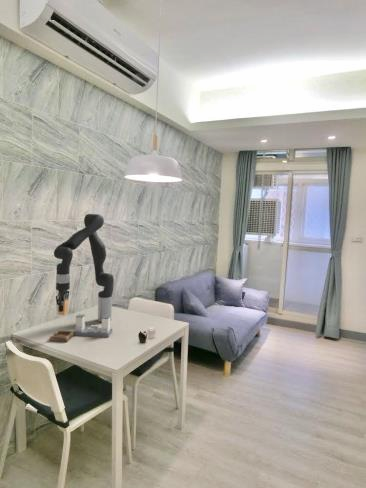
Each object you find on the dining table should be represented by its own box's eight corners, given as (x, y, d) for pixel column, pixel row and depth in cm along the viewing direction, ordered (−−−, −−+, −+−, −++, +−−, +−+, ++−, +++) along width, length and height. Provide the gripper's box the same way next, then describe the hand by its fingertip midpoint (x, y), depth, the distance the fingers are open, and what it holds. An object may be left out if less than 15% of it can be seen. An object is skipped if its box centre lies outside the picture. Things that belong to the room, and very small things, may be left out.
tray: (57, 334, 194) (57, 330, 194) (73, 335, 194) (73, 331, 194) (50, 340, 184) (50, 336, 184) (67, 342, 184) (67, 337, 184)
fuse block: (78, 329, 203) (78, 312, 202) (112, 331, 203) (112, 314, 202) (72, 335, 195) (72, 317, 194) (108, 337, 194) (108, 319, 193)
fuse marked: (60, 312, 190) (60, 297, 189) (67, 313, 190) (67, 298, 189) (57, 314, 186) (57, 299, 185) (64, 315, 186) (64, 299, 185)
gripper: (61, 278, 193) (61, 306, 195) (51, 283, 179) (50, 313, 181) (74, 279, 193) (73, 307, 195) (64, 284, 179) (63, 314, 180)
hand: (62, 310), depth 188 cm, fingers closed on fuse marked, 4 cm apart
